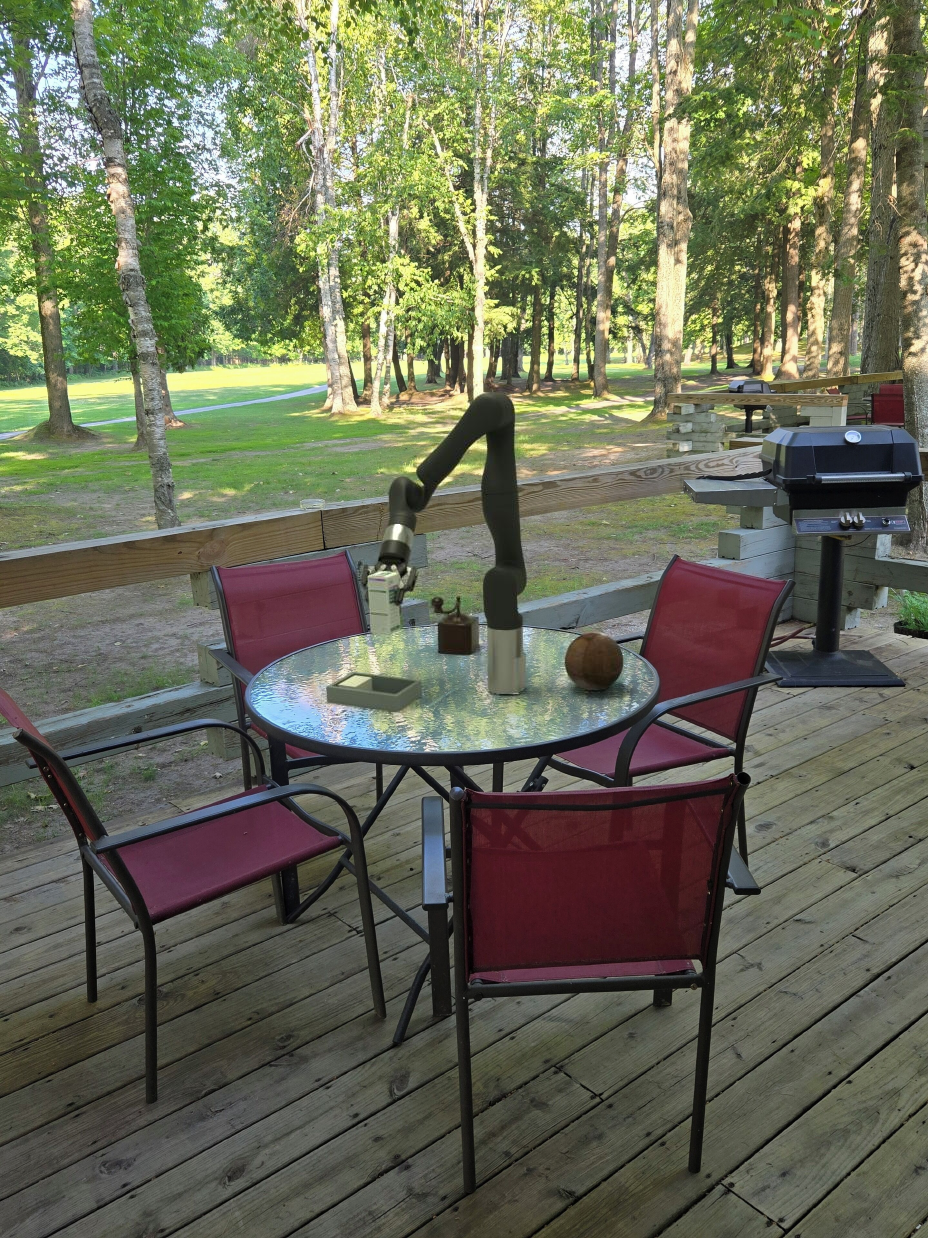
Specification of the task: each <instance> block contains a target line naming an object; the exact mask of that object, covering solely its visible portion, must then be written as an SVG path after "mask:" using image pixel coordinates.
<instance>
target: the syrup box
mask: <svg viewBox="0 0 928 1238" xmlns="http://www.w3.org/2000/svg"><path fill="white" fill-rule="evenodd" d="M398 582H399V573H397V572H390V571H382V572H378V573H376V572H375V573H372V575H369V576H368V593H369V604H368V606H369V607H368V609H369V623H370V624H369V627H370V633H371V634H372V633H373V634H376V635H377V634H378V635H385V636H391V635H392V634H394V633H396V632H399V631H402V630H403V625H402V624H403V623H402V621H403V620H402V606H401V605H402V604H400V606H396V604H395V597H396V593H397V589H399V586H398Z"/></svg>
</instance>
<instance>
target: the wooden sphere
mask: <svg viewBox="0 0 928 1238" xmlns="http://www.w3.org/2000/svg"><path fill="white" fill-rule="evenodd" d="M564 654H565V655H564V667H565V672H566V674H567V676H568V677H569V679H570V680H571V681H572V683H573V684H575V686H578V687H579V688H581V689H583V690H586V689H587V690H586V691H591V690H597V691H601V690H606V689H608V688H609V687H612V685H614V684H615V683H616V682H617V680H618V679H619V678H620V676H621V674H622V672H623V670H624V669H623V668H624V655H623V651H622V649H621V647H620V645H619V644H618V643H617V642H616V640H615V639H613V638H612V637H611V636H609V635H607V634H605V633H602V632H597V631H596V632H594V631H593V632H587V633H586V632H585V633H583V634H581V635H579V636H578V637H576V638H575V639H574V640H572V641H571V642H570V644H569V646H568V647H567V649H566V651H565V653H564Z"/></svg>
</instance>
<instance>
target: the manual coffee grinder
mask: <svg viewBox="0 0 928 1238" xmlns="http://www.w3.org/2000/svg"><path fill="white" fill-rule="evenodd" d="M455 598H456V601H455V604H454V605H455V606H454V607H453V608H452V609H450V610H448V611H447V610H445V611H444V609H443V605H444V603H445V600H444V599H443V597H440V596H434V597H433V598H431V599H430V604H431V607H432V608H433V613H434V614H441V615H445V616H443V617H442V618H441V620H439V621H438V622H437V649H438V650H437V653H439V654H445V655H447V654H448V655H459V656H471V655H473V654H474V653H475V651H476V650H477V649H478V648H479V646H480V634H479V633H480V623H479V622H480V618H479V616H472V615H471V616H470V615H467V614H465V613H461V604H462V603H461V602H462V601H461V596H460V595H457V596H456V597H455ZM477 647H478V648H477ZM476 648H477V649H476ZM475 649H476V650H475ZM470 654H471V655H470Z"/></svg>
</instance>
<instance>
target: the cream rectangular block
mask: <svg viewBox="0 0 928 1238" xmlns="http://www.w3.org/2000/svg"><path fill="white" fill-rule="evenodd" d="M338 686H339V687H343V688H351V689H358V690H365V691H372V677H364V676H356V675H355V676H353V677H351V678H349V679H348V680H346V681H344V682H342V683H340V684H339V685H338Z"/></svg>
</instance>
